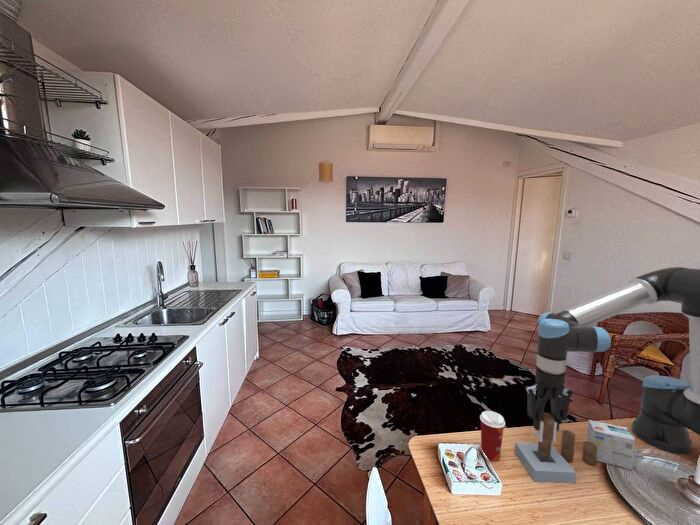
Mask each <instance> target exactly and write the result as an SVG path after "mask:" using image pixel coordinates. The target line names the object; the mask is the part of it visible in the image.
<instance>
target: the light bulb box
mask: <svg viewBox="0 0 700 525" xmlns="http://www.w3.org/2000/svg"><path fill="white" fill-rule="evenodd" d="M587 421H588V422H587V423H588V424H587V433H586V434H587V435H586V441H588V442H591V443H594V444H595V445H596V446H597V457H596V462H601V463H604V464H607V465H611V464H613V465H612V466H615V465H617V466H616V467H618V466H621V467H620V468H622V467H624V468H623V469H626V468H627V470H631V471H632V470H633V465H634V455H635V446H636V443H635V442H636V438H635V437H634V436H633V434H632V433H631V432H630V430H629V429H628V427H625V426H621V425H615V424H610V423H605V422H602V421H596V420H592V419H588V420H587ZM608 463H609V464H608Z"/></svg>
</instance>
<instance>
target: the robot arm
mask: <svg viewBox="0 0 700 525" xmlns="http://www.w3.org/2000/svg"><path fill="white" fill-rule="evenodd" d="M657 302H673V303H678V304H681V314H682V315H684V316H685V317H687V318H688V329H689V330H688V332H689V334H688V338H689V340H688V342H689V345H688V346H689V382H690V383H689V382H687V380H686V381H685V380H683V379H681V378H680V379H679V378H676V377H671V376H666V375H665V376H664V375H655V374H653V375H646V376H644V379H643V383H642V385H641V397H640V398H641V400H640V410H639V413H638V414H637V416H636V417H635V419H634V420H633V421H632V424H631V431H632V433H633V434H634V435H635V436H636V437H638V438H639V439H640V440H642V441H643V442H645V443H647V444H649V445H651V446H652V447H655V448H658V449H661V450H664V451H666V452H668V453H669V452H670V453H674V454H680V455H681V454H682V455H685V454H687V455H688V454H690V453H691V452H692V450H693V442H692V440H691V437H690V433H689V430H690V431H692V432H693V433H694V434H697V435H698V436H700V268H690V267H684V266H683V267H680V266H675V267H674V266H672V267H665V268H661V269H658V270H653V271H650V272H647V273H645V274H642V275H639V276H637V277H633V278H631V279H630V280H629V281H628V283H627V284H625V285H623V286H620V287H617V288H616V289H612V290H610V291H609V292H606V293H604V294H602V295H598V296H596V297H594V298H592V299H591V298H590V299H589V300H587V301H584V302H581V303H579V304H577V305H574V306H573V307H570V308H568V309H565V310H562V311H560V312H557V313H554V312H544V313H542V314H541V315H540V316H538V320H537V325H538V331H537V336H538V337H537V350H536V352H537V353H536V366H535V374H534V375H535V376H534V377H535V382H534V383H533V385H532V386H529V385H526V386H525V387H524V388H525V391H526V395H527V397H526V403H527V404H526V405H527V407H526V410H527V412H526V414H527V415H528V416H529V418H530V419H531V420H532V421H533V422H532V424H533V425H532V426H533V428H534V429H535V430H534V436H535V438H536V439H537V440H538V441H540V442H542V438H543V425H544V422H543V421H542V420H541V419H542V415H543V412H544V411H545V407H546V404H547V403H548V400H549V402H550V410H551V411H550V412H551V413H550V414H551V415H552V416H553V429H552V441H551V443H556V442H557V432H559V430H560V425H562V424H563V421H564V422H565V421H567V419H568V414H569V407H570V401H571V398H572V396H573V394H574V392H573V391H572V390H571V389H570V388H568V387H565V379H566V373H565V372H566V369H567V356H568V353H570V352H571V353H572V352H575V353H577V352H578V353H581V352H582V353H583V352H584V353H601V352H606V351H608V350H609V349H610V347H611V342H612V340H611V336H610V334H609V332H608V331H607V330H606V329H604V328H603V327H599V326H592V325H595V324H597V323H599V322H602V321H605V320H607V319H609V318H612V317H614V316H617V315H620V314H621V313H624V312H626V311H629V310H631V309H634V308H637V307H639V306H641V305H645V304H647V305H652V304H655V303H657ZM536 391H537V393H536ZM536 396H537V398H536Z"/></svg>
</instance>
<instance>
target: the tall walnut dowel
mask: <svg viewBox="0 0 700 525" xmlns="http://www.w3.org/2000/svg"><path fill="white" fill-rule="evenodd" d="M541 420H542V421H543V422H544V425H543V438H542V442H540V441H539V440H538V453H539V454H540V455H541V456H543V457H546V458H549V457H550V454H551V444H552V429H553V416H552V413H549V412H546V411H545V412H543V415H542V419H541Z"/></svg>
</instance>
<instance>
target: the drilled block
mask: <svg viewBox="0 0 700 525" xmlns="http://www.w3.org/2000/svg"><path fill="white" fill-rule="evenodd" d="M514 443H515V444H514V454H515V455H516V456H517V458H518V459H519V460H520V462H521V463H522V465H523V466H524V468H525V469H526V471H527V473H528V474H529V475H530V477H531V478H532V480H533V481H534V482H538V483H539V482H543V483H562V484H576V480H577V472H576V470H575V469H574V468H573V467H572V465H571V464H569V462H567V461H566V460H565V459H564V458H563V457H562V456H561V452H559V451H558V450H557V449H556V448H555V446H554V445H553V444H552V443H551V454H550V457H549V458H546V457H543V456H541V455H540V454H539V453H538V443H537V442H535V443H533V442H532V443H531V442H514Z"/></svg>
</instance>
